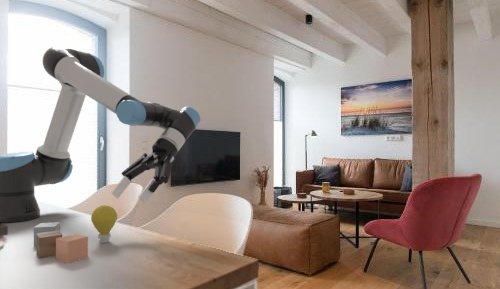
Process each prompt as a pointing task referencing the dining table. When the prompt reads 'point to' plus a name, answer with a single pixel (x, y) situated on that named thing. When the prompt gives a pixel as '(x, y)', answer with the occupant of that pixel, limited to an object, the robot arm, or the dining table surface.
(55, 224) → the slate grey block
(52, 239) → the walnut block
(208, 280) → the dining table surface
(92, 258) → the dining table surface
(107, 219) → the light bulb
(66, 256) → the terracotta block
